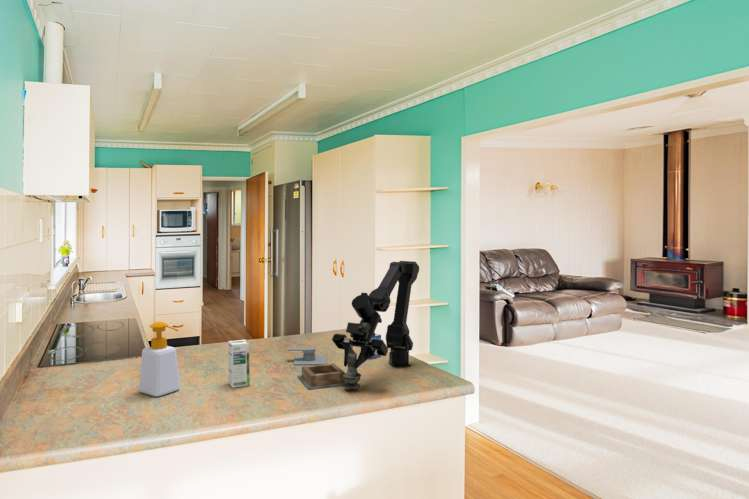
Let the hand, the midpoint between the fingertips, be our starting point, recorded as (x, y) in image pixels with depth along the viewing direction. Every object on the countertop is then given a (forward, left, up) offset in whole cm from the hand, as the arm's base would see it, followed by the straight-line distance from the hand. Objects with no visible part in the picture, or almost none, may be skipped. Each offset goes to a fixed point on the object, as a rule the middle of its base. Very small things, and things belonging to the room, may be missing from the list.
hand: (350, 366), depth 176 cm
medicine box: (-22, -36, -8) cm, 43 cm away
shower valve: (+3, -39, -9) cm, 40 cm away
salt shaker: (-1, -1, -7) cm, 7 cm away
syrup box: (+32, -19, -8) cm, 38 cm away
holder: (+5, -13, -8) cm, 16 cm away
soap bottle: (+55, -19, -8) cm, 59 cm away
